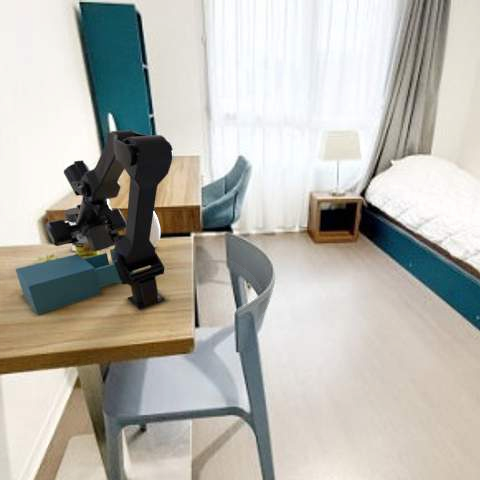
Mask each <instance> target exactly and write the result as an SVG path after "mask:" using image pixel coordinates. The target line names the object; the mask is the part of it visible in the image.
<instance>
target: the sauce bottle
mask: <svg viewBox="0 0 480 480" xmlns="http://www.w3.org/2000/svg"><path fill="white" fill-rule="evenodd" d="M160 239H161V225H160V222H159V218H158V216H157V214H156V212H155V211H154V213H153V220H152V226H151V233H150V241H151V243H152V244H153V246H154V247H155V248H156V246H157V245H158V244H159V242H160Z"/></svg>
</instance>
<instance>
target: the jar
mask: <svg viewBox="0 0 480 480" xmlns="http://www.w3.org/2000/svg"><path fill="white" fill-rule="evenodd" d="M63 214H64V219H65V221H64V222H65V223H67V222H69V223H70V225H76V223H75V222H76V221H77V220H76V218H75V214H79V211H78V209H77V206H75V207H72V208H68V209H66V210H64V211H63ZM70 248H71V251H73V252H76V248H75V245H74V246H73V245H72V243H71V244H70Z"/></svg>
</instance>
